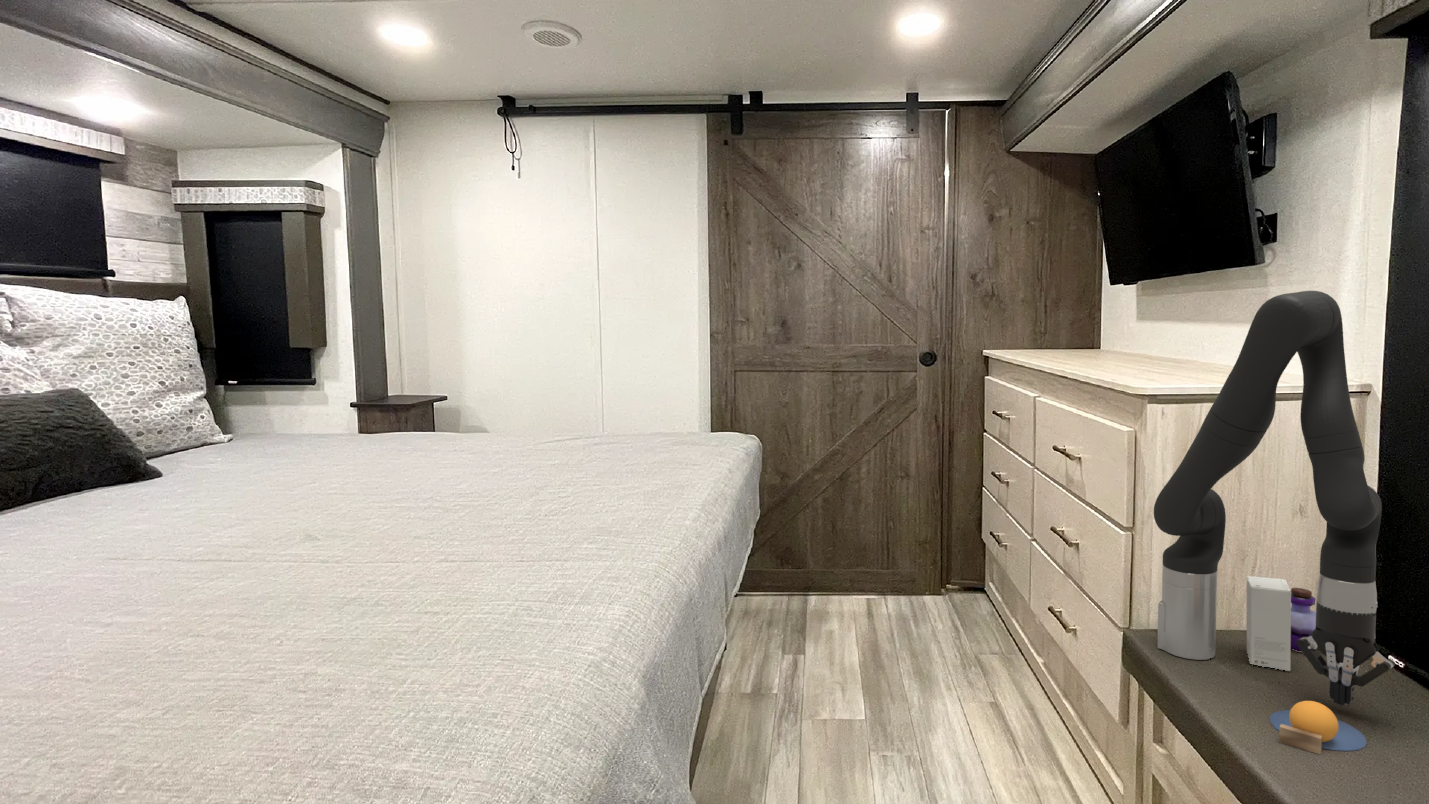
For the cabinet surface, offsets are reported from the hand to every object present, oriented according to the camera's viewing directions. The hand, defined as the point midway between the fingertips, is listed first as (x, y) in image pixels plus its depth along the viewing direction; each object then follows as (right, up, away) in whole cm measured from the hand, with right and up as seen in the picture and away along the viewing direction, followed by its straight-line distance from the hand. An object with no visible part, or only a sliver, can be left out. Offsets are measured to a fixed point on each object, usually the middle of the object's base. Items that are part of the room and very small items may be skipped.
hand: (1341, 703), depth 123 cm
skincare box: (+2, 0, +20) cm, 20 cm away
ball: (-11, 0, -8) cm, 14 cm away
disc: (-8, -2, -5) cm, 10 cm away
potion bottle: (+13, +1, +25) cm, 28 cm away
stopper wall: (-14, -3, -9) cm, 17 cm away
